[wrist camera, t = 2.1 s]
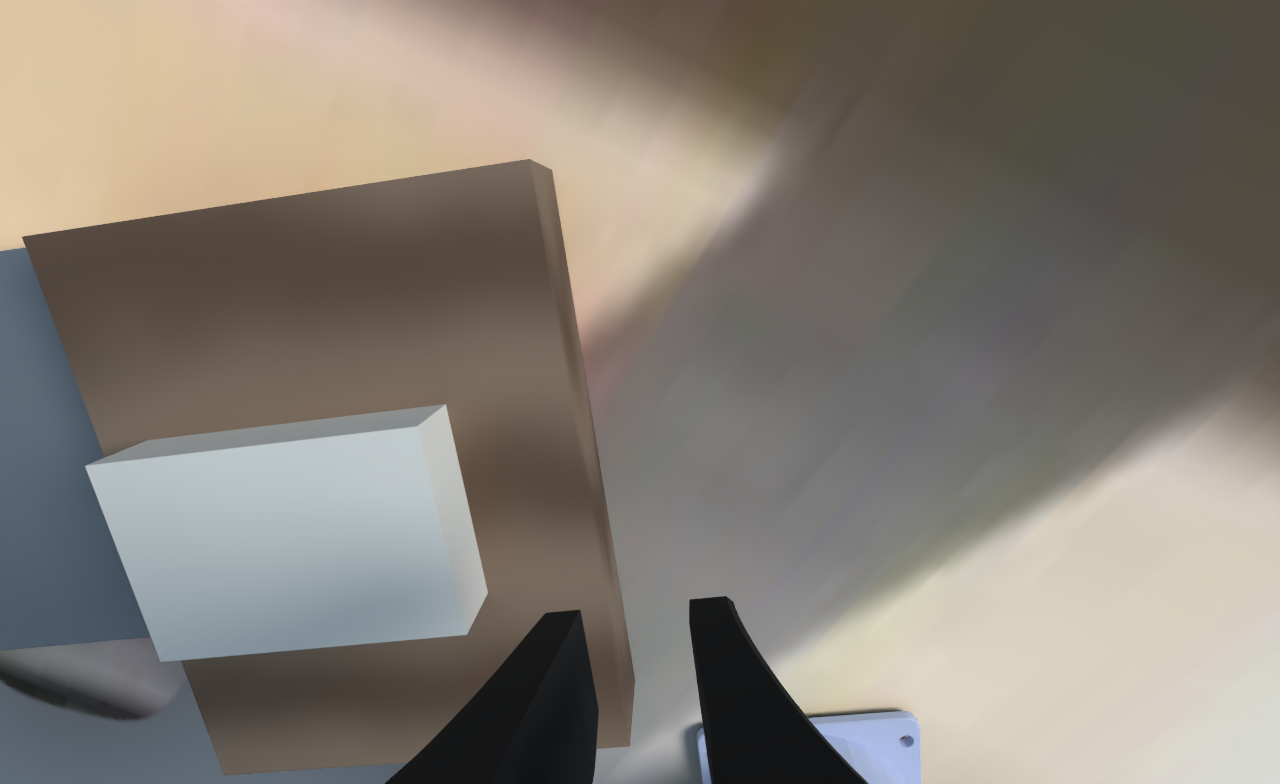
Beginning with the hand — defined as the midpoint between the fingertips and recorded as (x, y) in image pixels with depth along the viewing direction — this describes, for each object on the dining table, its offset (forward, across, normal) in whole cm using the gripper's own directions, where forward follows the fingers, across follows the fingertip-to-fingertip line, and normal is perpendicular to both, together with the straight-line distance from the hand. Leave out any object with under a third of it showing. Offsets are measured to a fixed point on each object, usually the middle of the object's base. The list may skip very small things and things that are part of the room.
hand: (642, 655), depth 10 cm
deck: (+10, +9, 0) cm, 14 cm away
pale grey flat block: (+7, +10, 0) cm, 12 cm away
